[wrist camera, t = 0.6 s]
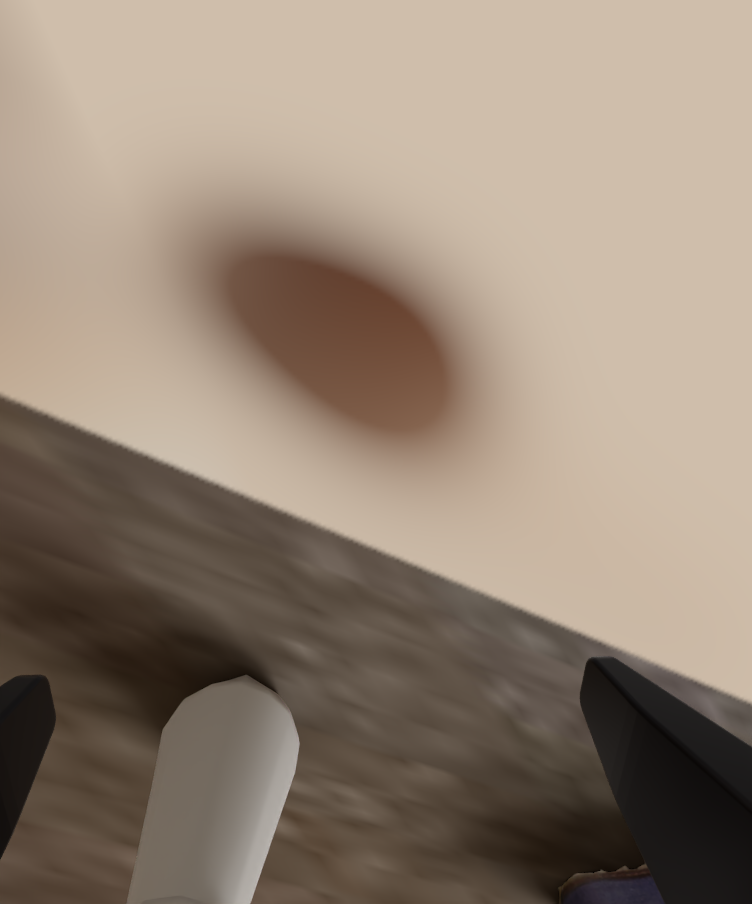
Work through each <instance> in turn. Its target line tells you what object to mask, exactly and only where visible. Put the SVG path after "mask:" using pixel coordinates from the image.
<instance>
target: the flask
mask: <svg viewBox="0 0 752 904" xmlns="http://www.w3.org/2000/svg"><path fill="white" fill-rule="evenodd" d="M558 890H559V891H560V897H559V904H665V903H664V901H663V899H662V897H661V895H660V893H659V891H658V888H657V886H656V884H655V882H654V880H653V878H652V876H651V874H650V872H649V870H648V867H647V865H646V863H645V864H644V865H641V866H640V867H638V869H635V870H634V869H628V868H627V867H626V866H625V865H624V866H623V867H622V868H620V869H618V870H617V871H616V872H606V871H602V869H601V871H597V872H595V873H576V874H574V875H573V877H570V878H569V879H568V882H567V881H566V882H565V883H564V884H563V886H560V887H558Z"/></svg>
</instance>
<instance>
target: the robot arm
mask: <svg viewBox="0 0 752 904" xmlns="http://www.w3.org/2000/svg"><path fill="white" fill-rule="evenodd" d="M580 704H581V708H582V711H583V714H584V716H585V719H586V722H587V725H588V727H589V730H590V733H591V735H592V738H593V741H594V744H595V746H596V749H597V752H598V755H599V757H600V760H601V763H602V765H603V768H604V771H605V774H606V776H607V779H608V782H609V785H610V787H611V790H612V792H613V795H614V797H615V800H616V802H617V804H618V806H619V808H620V811H621V813H622V815H623V817H624V819H625V821H626V823H627V826H628V828H629V830H630V832H631V834H632V836H633V838H634V840H635V842H636V844H637V847H638V849H639V851H640V853H641V855H642V857H643V859H644V861H645V863H646V865H647V867H648V870H649V872H650V874H651V876H652V878H653V880H654V882H655V884H656V886H657V888H658V891H659V893H660V895H661V897H662V899H663V901H664V903H665V904H752V746H750V745H748V744H747V743H745V742H744V741H742V740H741V739H739V738H738V737H736V736H735V735H733V734H731V733H730V732H728V731H727V730H725V729H724V728H722V727H721V726H719V725H718V724H716V723H715V722H713V721H711V720H710V719H708V718H707V717H705V716H704V715H702V714H701V713H699V712H698V711H696V710H695V709H693V708H691V707H690V706H688V705H687V704H685V703H684V702H682V701H681V700H679V699H678V698H676V697H675V696H673V695H671V694H670V693H668V692H667V691H665V690H664V689H662V688H661V687H659V686H658V685H656V684H654V683H653V682H651V681H650V680H648V679H647V678H645V677H644V676H642V675H641V674H639V673H638V672H636V671H634V670H633V669H631V668H630V667H628V666H627V665H625V664H624V663H622V662H621V661H619V660H618V659H616V658H614V657H610V656H602V657H591V658H589V659H588V660H587V662H586V666H585V671H584V676H583V681H582V686H581V691H580ZM55 721H56V713H55V708H54V704H53V699H52V694H51V690H50V685H49V681H48V679H47V678H46V677H45V676H43V675H21V676H17V677H14V678H13V679H11V680H9V681H8V682H6V683H5V684H3V685H2V686H0V859H1V857H2V855H3V853H4V851H5V849H6V847H7V845H8V843H9V840H10V838H11V836H12V834H13V832H14V829H15V827H16V825H17V822H18V820H19V818H20V815H21V813H22V810H23V807H24V805H25V802H26V800H27V797H28V795H29V792H30V790H31V787H32V784H33V782H34V779H35V777H36V774H37V772H38V769H39V767H40V764H41V761H42V759H43V756H44V754H45V751H46V749H47V746H48V744H49V741H50V738H51V736H52V733H53V730H54V727H55Z"/></svg>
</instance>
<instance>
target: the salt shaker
mask: <svg viewBox="0 0 752 904" xmlns="http://www.w3.org/2000/svg"><path fill="white" fill-rule="evenodd" d="M298 750H299V737H298V734H297V730H296V727H295V724H294V721H293V718H292V714H291V711H290V709H289V708H288V706H287V705H286V704H285V702H284V701H283V699H282V698H281V697H280V695H279V694H277V693H276V692H274V691H272V690H271V689H269V688H267V687H266V686H264V685H263V684H261V683H259V682H258V681H256V680H254V679H253V678H251V677H250V676H248V675H244V676H241V677H237V678H234V679H231V680H228V681H223V682H219V683H214V684H211V685H209V686H207V687H205V688H203V689H202V690H200V691H198V692H196V693H194V694H192V695H190V696H188V697H187V698H185V699H184V700H183V701H182V702H181V704H180V705H179V706H178V708H177V709H176V711H175V712H174V714H173V715H172V717H171V718H170V720H169V721H168V723H167V724H166V725H165V727H164V728H163V730H162V736H161V741H160V746H159V752H158V757H157V762H156V767H155V773H154V778H153V783H152V788H151V793H150V797H149V802H148V807H147V811H146V816H145V820H144V825H143V830H142V834H141V839H140V844H139V848H138V853H137V858H136V862H135V867H134V871H133V876H132V881H131V885H130V890H129V895H128V899H127V904H250V903H251V900H252V897H253V894H254V891H255V888H256V885H257V882H258V879H259V876H260V874H261V871H262V868H263V865H264V862H265V859H266V856H267V853H268V850H269V847H270V844H271V841H272V838H273V835H274V832H275V829H276V827H277V824H278V821H279V818H280V815H281V812H282V809H283V806H284V803H285V800H286V797H287V794H288V791H289V788H290V785H291V782H292V779H293V777H294V774H295V769H296V763H297V756H298Z"/></svg>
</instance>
